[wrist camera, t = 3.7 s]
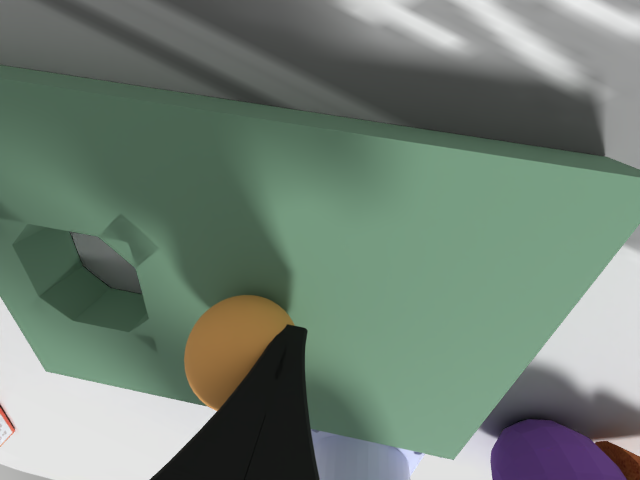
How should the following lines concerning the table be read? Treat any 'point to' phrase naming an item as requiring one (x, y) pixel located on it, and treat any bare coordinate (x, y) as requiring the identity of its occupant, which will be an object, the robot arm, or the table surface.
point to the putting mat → (298, 246)
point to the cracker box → (5, 427)
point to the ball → (230, 345)
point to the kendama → (558, 455)
